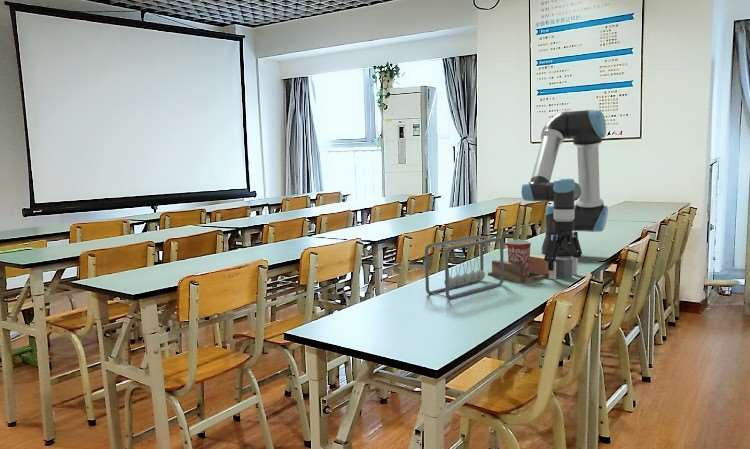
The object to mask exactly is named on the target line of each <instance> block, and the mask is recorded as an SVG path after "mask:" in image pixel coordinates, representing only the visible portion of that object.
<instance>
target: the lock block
mask: <svg viewBox="0 0 750 449" xmlns="http://www.w3.org/2000/svg"><path fill="white" fill-rule="evenodd" d="M554 262H556V279H557V278H558V279H563V280H566V279H569V278H572V277H573V274H572V259H570V258H567V257H556V259H555V261H554Z"/></svg>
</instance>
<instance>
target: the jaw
mask: <svg viewBox="0 0 750 449" xmlns="http://www.w3.org/2000/svg"><path fill="white" fill-rule="evenodd" d="M544 257H545V255H544V256H543V255H536V254H531V253H530V260H529V274H535V275H538V276H540V275H544V274H549V270H548V261H545V260H544Z"/></svg>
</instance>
